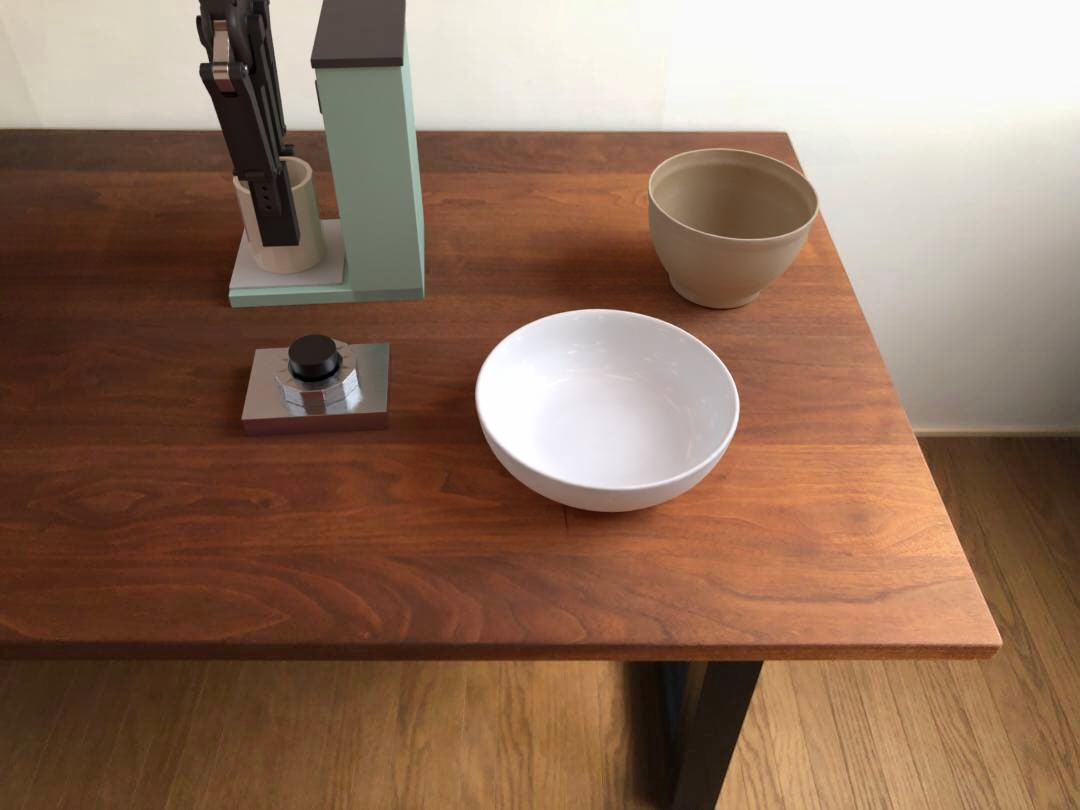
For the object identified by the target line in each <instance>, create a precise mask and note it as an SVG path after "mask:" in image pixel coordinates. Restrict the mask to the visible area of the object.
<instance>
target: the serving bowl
mask: <svg viewBox="0 0 1080 810" xmlns="http://www.w3.org/2000/svg"><path fill="white" fill-rule="evenodd" d="M474 389H475V391H474V395H475V396H474V399H475V408H476V412H477V416H478V420H479V423H480V427H481V430H482V432H483V436H484V437H485V439H486V442H487V444H488V445H489V447H490V449H491V451H492V452H493V454H494V455H495V457H496V459H497V460H498V461H499V462H500V464H501V465H502V466H503V467H504V468H505V469H506V470H507V471H508V472H509V473H510V475H512V476H513V477H514V478H515V479H516V480H518V481H519V482H520V483H522V484H523V485H524V486H526V487H527V488H529V489H530V490H531V491H534V492H536V493H537V494H539V495H541V496H543V497H544V498H547V499H548V500H551V501H554V502H557V503H560V504H562V505H565V506H569V507H571V508H574V509H575V508H576V509H581V510H585V511H590V512H591V511H592V512H602V513H603V512H604V513H605V512H606V513H608V512H609V513H617V512H618V513H620V512H621V513H622V512H631V511H636V510H642V509H646V508H650V507H654V506H658V505H660V504H663V503H666V502H669V501H670V500H673V499H675V498H677V497H679V496H680V495H681V496H682V494H684V493H686V492H688V491H690V490H691V489H692V488H694V487H695V486H696V485H697V484H699V483H701V481H702V480H703V479H704V478H705V477H707V475H709V474H710V473H711V472H712V470H714V468H715V467H716V466H717V464H718V463H719V461H720V460H721V459H722V458H723V456H724V454H725V452H727V449H728V447H729V445H730V443H731V442H732V439H733V437H734V435H735V432H736V430H737V427H738V424H739V418H740V397H739V392H738V389H737V386H736V383H735V381H734V379H733V377H732V374H731V373H730V371H729V369H728V368H727V366H726V365H725V364H724V362H723V361H722V360H721V359H720V357H718V355H717V354H716V353H715V352H714V351H713V350H712V349H710V348H709V346H707V345H706V344H704V343H703V342H702V341H701V340H700V339H698V338H697V337H695V336H694V335H692V334H691V333H689V332H687V331H685V330H684V329H682V328H681V327H678V326H676V325H674V324H672V323H669V322H667V321H664V320H663V319H659V318H656V317H652V316H650V315H645V314H641V313H637V312H632V311H626V310H619V309H607V308H603V309H602V308H589V309H588V308H587V309H578V310H570V311H569V310H568V311H565V312H560V313H555V314H552V315H551V314H550V315H547V316H545V317H541V318H539V319H537V320H534V321H532V322H529V323H527V324H524V325H523V326H521V327H519V328H517V329H516V330H514V331H513V332H511V333H510V334H508V335H507V336H505V338H503V339H501V341H500V342H499V343H498V344H496V345H495V346H494V348H493V349H492V350H491V351H490V353H489V354H488V355H487V357H486V358H485V360H484V361H483V363H482V365H481V368H480V370H479V371H478V375H477V379H476V383H475V388H474Z"/></svg>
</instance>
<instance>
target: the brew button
mask: <svg viewBox="0 0 1080 810" xmlns="http://www.w3.org/2000/svg"><path fill="white" fill-rule="evenodd" d="M332 339H333V338H332ZM332 339H331V337H330V336H327V335H324V334H319V333H318V334H317V333H312V334H307V335H304V336H301V337H299V338H296V339H295V340H294V341H293V342H291V344H290V345H289V346H290V347H289V346H288V347H289V350H288V355H289V359H290V363H291V368H292V372H293V374H294V376H295V377H296V378H297V379H299V380H301V381H304V382H320V381H323V380H325V379H327V378H330V377H332V376H333V375H334V374H335V373H336V372H337V371H338V369H339V359H338V354H337V348H336V344H335V342H334V341H333V340H332Z"/></svg>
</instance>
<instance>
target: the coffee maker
mask: <svg viewBox="0 0 1080 810" xmlns="http://www.w3.org/2000/svg"><path fill="white" fill-rule="evenodd" d="M321 3H322V4H321V9H320V14H319V16H318V17H319V18H318V21H317V22H318V23H317V27H316V32H315V36H314V41H313V45H312V49H311V54H310V59H309V61H310V67H311V69H313V70H314V73H315V80H314V88H315V91H316V98H317V103H318V109H319V114H321V115H322V121H323V127H324V133H325V138H326V144H327V150H328V157H329V162H330V169H331V173H332V180H333V186H334V192H335V198H336V202H337V210H338V215H339V218H336V219H335V218H333V219H322V223H323V229H324V234H325V240H326V254H325V256H324V258H323V259H322V260H321V261H320V262H319V263H318V264H316V265H315V266H313V267H311V268H309V269H307V270H304V271H301V272H297V273H291V274H276V273H271V272H267V271H265V270H263V269H261V268H259V267H258V266H257V265H256V263H255V262H254V259H253V256H252V254H251V250H250V246H249V242H248V238H247V234H246V231H245V227H244V228H243V232H242V235H241V239H240V244H239V247H238V252H237V255H236V259H235V262H234V267H233V270H232V275H231V279H230V282H229V285H228V288H229V292H228V296H227V297H228V300H229V303H230V307H231V308H233V309H235V308H252V307H253V308H254V307H271V306H272V307H274V306H276V307H277V306H298V305H299V306H300V305H318V304H319V305H321V304H340V303H343V304H344V303H363V302H365V303H366V302H386V301H407V300H408V301H409V300H425V218H424V207H423V196H422V195H423V194H422V185H421V184H422V183H421V175H420V162H419V154H418V153H419V152H418V143H417V141H418V140H417V132H416V131H417V130H416V120H415V119H416V118H415V109H414V99H413V90H412V89H413V88H412V78H411V66H410V65H411V64H410V56H409V45H408V36H407V33H408V32H407V23H406V17H407V16H406V15H407V13H406V11H407V0H322V2H321Z"/></svg>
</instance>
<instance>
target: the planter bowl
mask: <svg viewBox="0 0 1080 810" xmlns="http://www.w3.org/2000/svg"><path fill="white" fill-rule="evenodd" d="M647 198H648V208H647V209H648V212H647V214H648V227H649V232H650V233H649V234H650V237H651V241H652V244H653V248H654V249H655V253H656V255H657V257H658V258H659V261H660V262H661V264H662V266H663V268H664V269H665V270H666V272H667V274H668V279H669V281H670V282H669V283H670V284H671V286H672V287H673V289H674V290H675V292H677V294H679V295H680V296H681V297H682V298H683V299H685V300H687V301H689V302H691V303H693V304H696V305H699V306H702V307H706V308H710V309H735V308H740V307H742V306H746V305H748V304H750V303H751V302H753V301H755V299H757V298H758V297H759V295H760V294H761V292H762V290H763V289H765V288H767V287H768V286H770V285H772V284H773V283H774V282H776V280H777V279H779V278H780V277H781V276H782V275H783V274H784V273H785V272H786V270H788V269H789V267H790V266H791V265H792V263H793V262H794V261H795V260H796V258H797V256H798V255H799V253H800V252H801V250H802V248H803V246H804V244H805V243H806V240H807V238H808V235H809V233H810V230H811V227H812V226H813V224H814V223H815V221H816V219H817V215H818V213H819V208H820V199H819V195H818V191H817V189H816V188H815V186H814V185H813V183H811V181H809V179H808V178H807V177H806V176H805V175H803V173H801V172H800V171H799V170H797V169H796V168H794V167H793V166H791V165H789V164H787V163H786V162H783V161H781V160H778V159H776V158H774V157H771V156H768V155H766V154H761V153H758V152H754V151H750V150H749V151H748V150H743V149H736V148H724V147H721V148H720V147H716V148H712V147H711V148H701V149H694V150H690V151H686V152H685V151H684V152H681V153H678V154H675V155H673V156H670V157H669V158H667V159H665V160H664V161H662V162H661V163H659V164H658V165H657V166H656V167H655V168H654V169H653V170H652V172H651V174H650V176H649V179H648V182H647Z"/></svg>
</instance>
